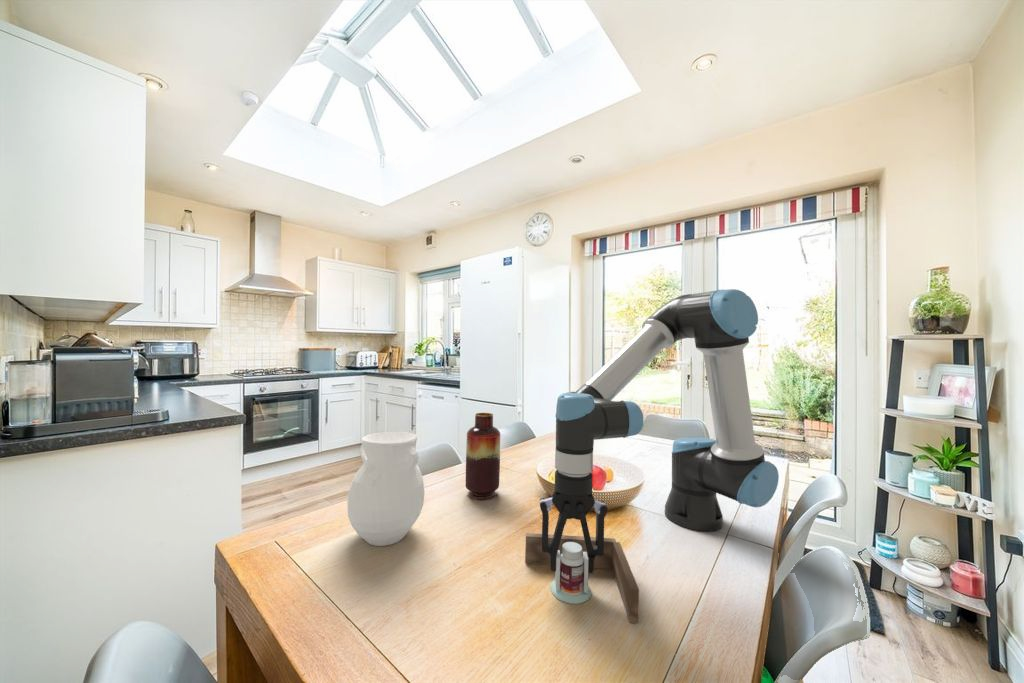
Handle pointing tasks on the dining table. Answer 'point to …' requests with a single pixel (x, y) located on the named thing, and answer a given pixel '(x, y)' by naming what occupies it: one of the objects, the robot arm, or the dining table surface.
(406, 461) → the white vase
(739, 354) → the robot arm
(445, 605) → the dining table surface
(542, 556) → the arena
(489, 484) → the vase
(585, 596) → the disc
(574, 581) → the pill bottle
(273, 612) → the dining table surface
